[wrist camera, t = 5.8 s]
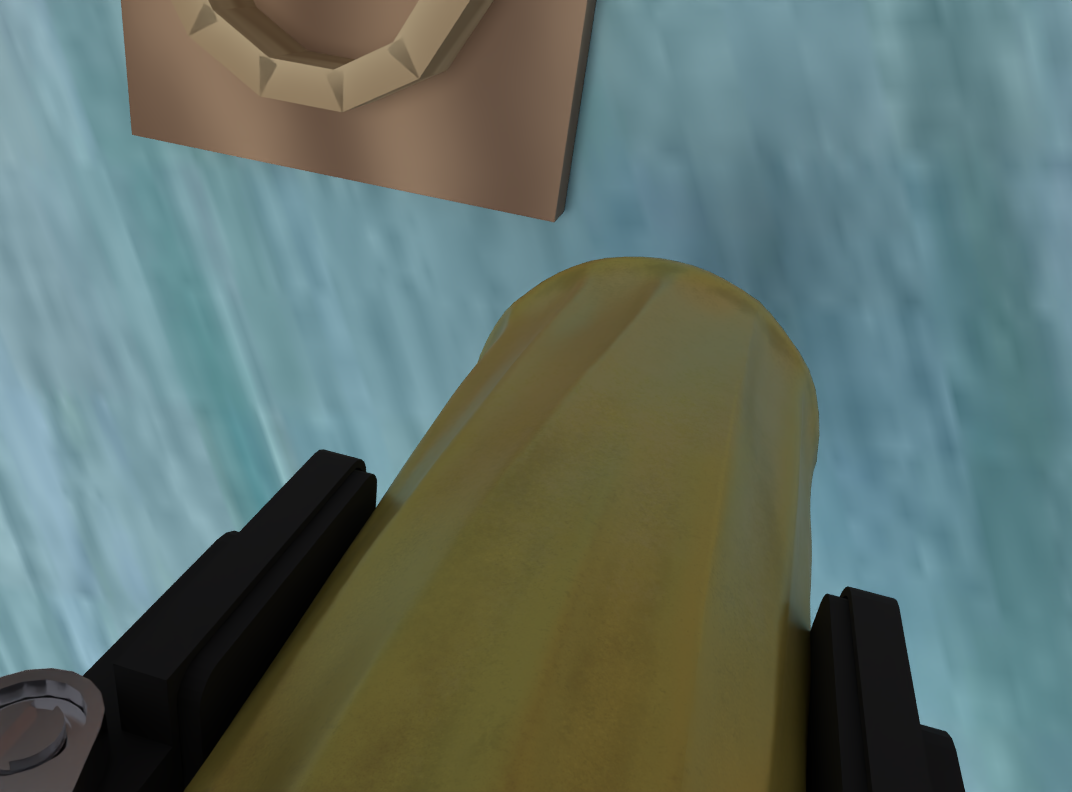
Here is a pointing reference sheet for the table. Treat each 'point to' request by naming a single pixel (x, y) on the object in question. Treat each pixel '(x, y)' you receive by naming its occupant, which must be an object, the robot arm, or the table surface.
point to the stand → (372, 90)
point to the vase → (571, 567)
